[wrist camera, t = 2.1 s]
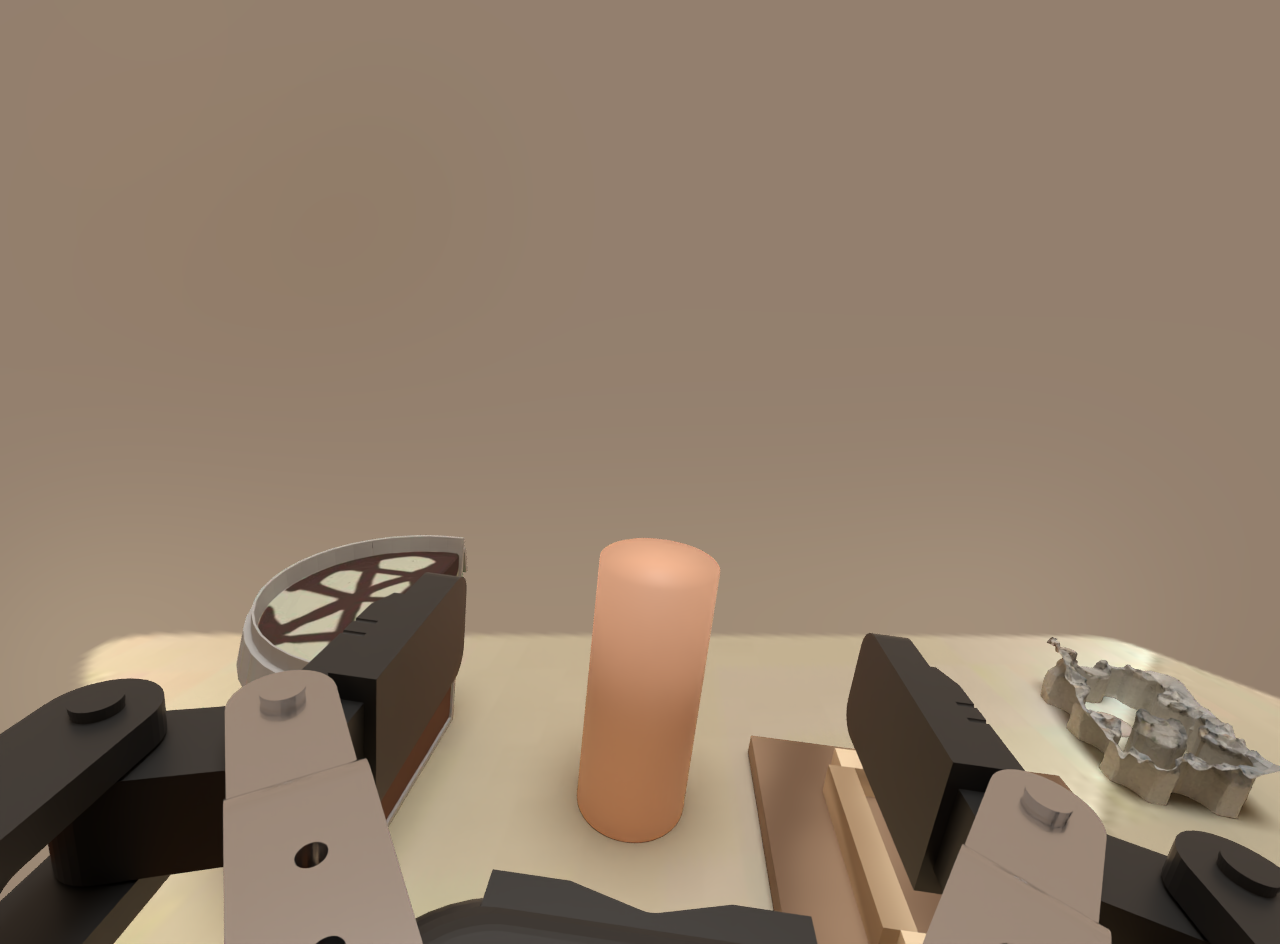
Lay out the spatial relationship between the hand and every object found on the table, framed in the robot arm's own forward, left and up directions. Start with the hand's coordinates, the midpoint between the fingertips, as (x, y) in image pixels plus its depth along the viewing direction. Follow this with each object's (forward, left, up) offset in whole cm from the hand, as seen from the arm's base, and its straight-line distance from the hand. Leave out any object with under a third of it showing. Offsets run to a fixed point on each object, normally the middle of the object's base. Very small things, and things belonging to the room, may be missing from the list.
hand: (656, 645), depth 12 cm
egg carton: (-30, -21, -16) cm, 40 cm away
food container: (+13, -11, -16) cm, 23 cm away
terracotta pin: (0, -12, -16) cm, 20 cm away
